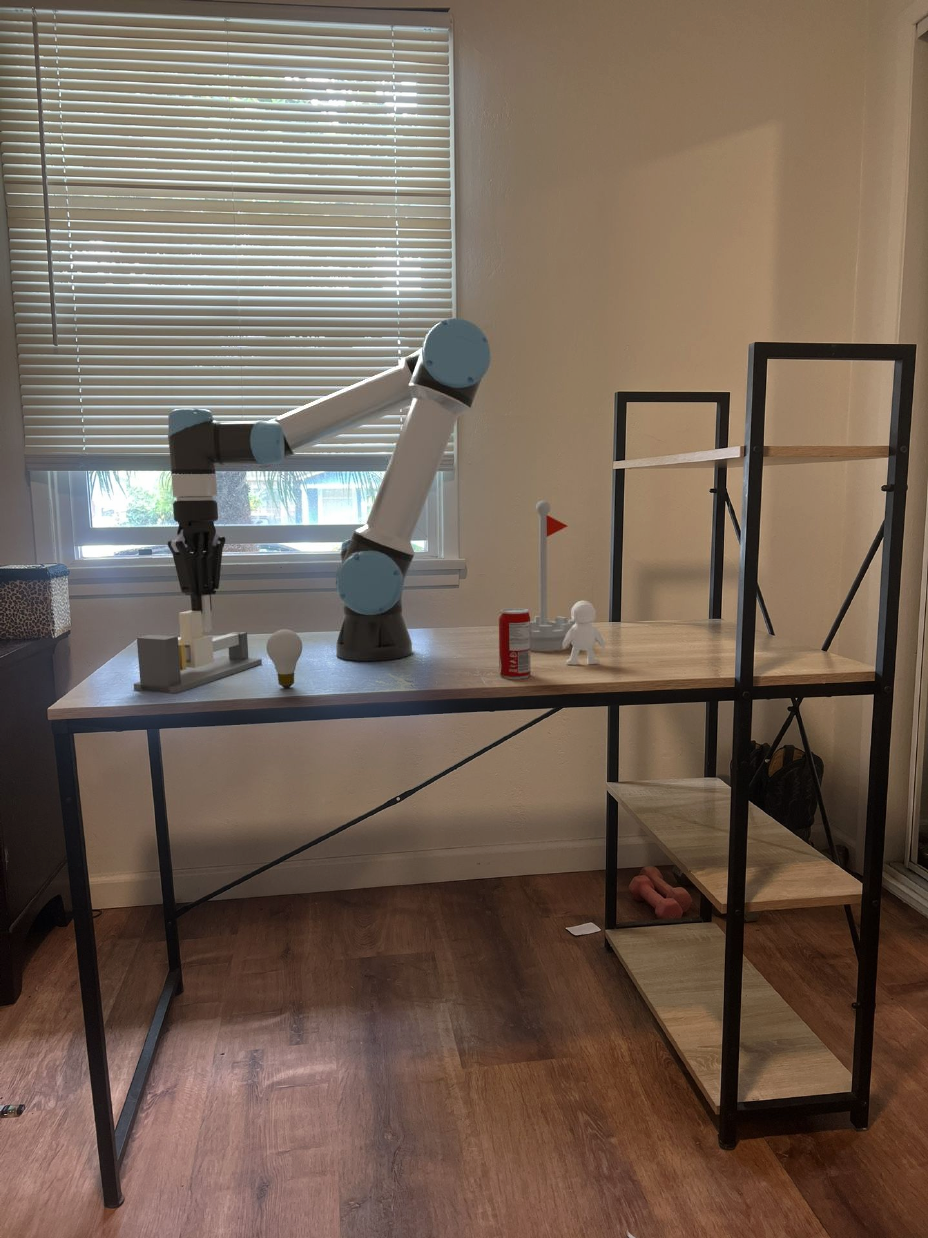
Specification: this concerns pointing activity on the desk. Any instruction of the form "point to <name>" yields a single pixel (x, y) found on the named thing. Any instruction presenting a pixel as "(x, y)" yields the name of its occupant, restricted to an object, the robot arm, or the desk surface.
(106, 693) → the desk surface
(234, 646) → the rail
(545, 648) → the flag stand
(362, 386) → the robot arm
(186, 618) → the sleeve
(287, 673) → the light bulb
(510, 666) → the soda can
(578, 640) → the figurine
